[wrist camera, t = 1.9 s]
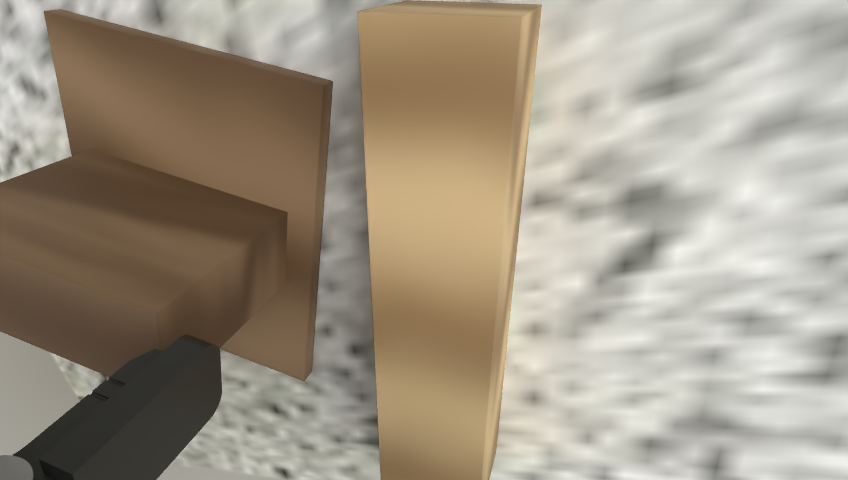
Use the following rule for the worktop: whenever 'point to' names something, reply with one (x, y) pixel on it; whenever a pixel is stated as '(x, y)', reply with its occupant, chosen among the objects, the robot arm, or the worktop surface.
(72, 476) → the robot arm
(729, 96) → the worktop surface
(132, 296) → the walnut fulcrum
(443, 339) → the oak rod
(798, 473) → the worktop surface
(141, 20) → the worktop surface
